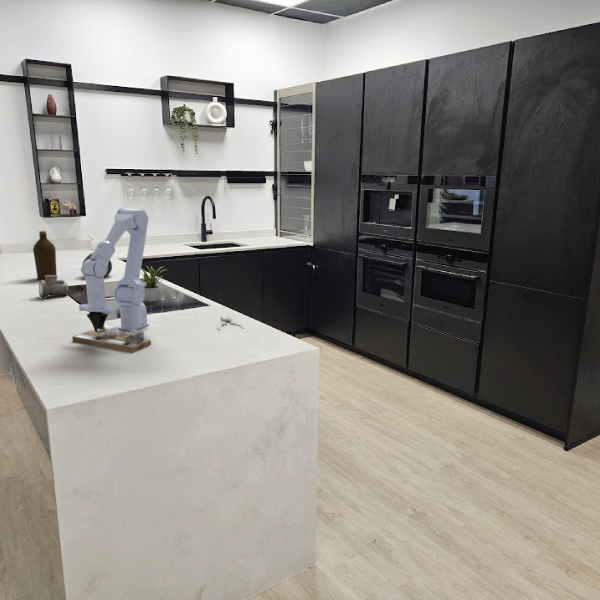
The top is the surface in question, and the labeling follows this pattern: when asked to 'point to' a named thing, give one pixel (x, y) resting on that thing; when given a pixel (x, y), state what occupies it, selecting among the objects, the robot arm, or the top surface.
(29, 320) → the top surface
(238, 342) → the top surface
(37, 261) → the olive oil
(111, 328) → the block
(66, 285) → the pipe fitting
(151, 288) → the house plant
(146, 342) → the gauge board
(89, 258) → the squash
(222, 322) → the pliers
